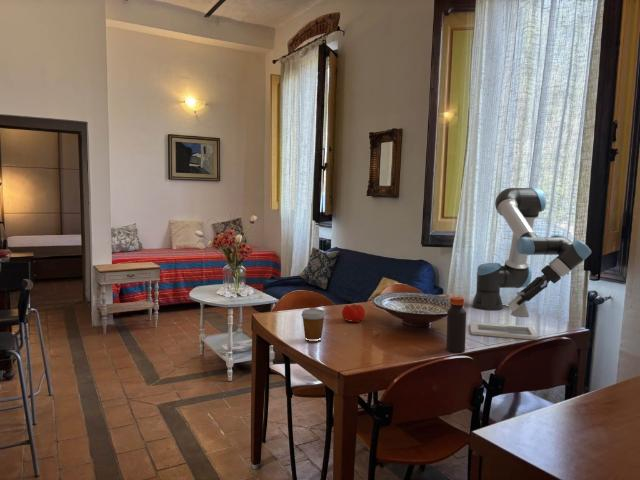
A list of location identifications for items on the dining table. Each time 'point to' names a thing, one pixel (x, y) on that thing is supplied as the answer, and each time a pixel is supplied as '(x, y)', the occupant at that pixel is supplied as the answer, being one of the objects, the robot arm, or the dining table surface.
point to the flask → (520, 308)
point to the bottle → (456, 326)
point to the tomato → (353, 313)
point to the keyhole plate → (503, 331)
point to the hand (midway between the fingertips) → (510, 307)
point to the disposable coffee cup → (313, 324)
